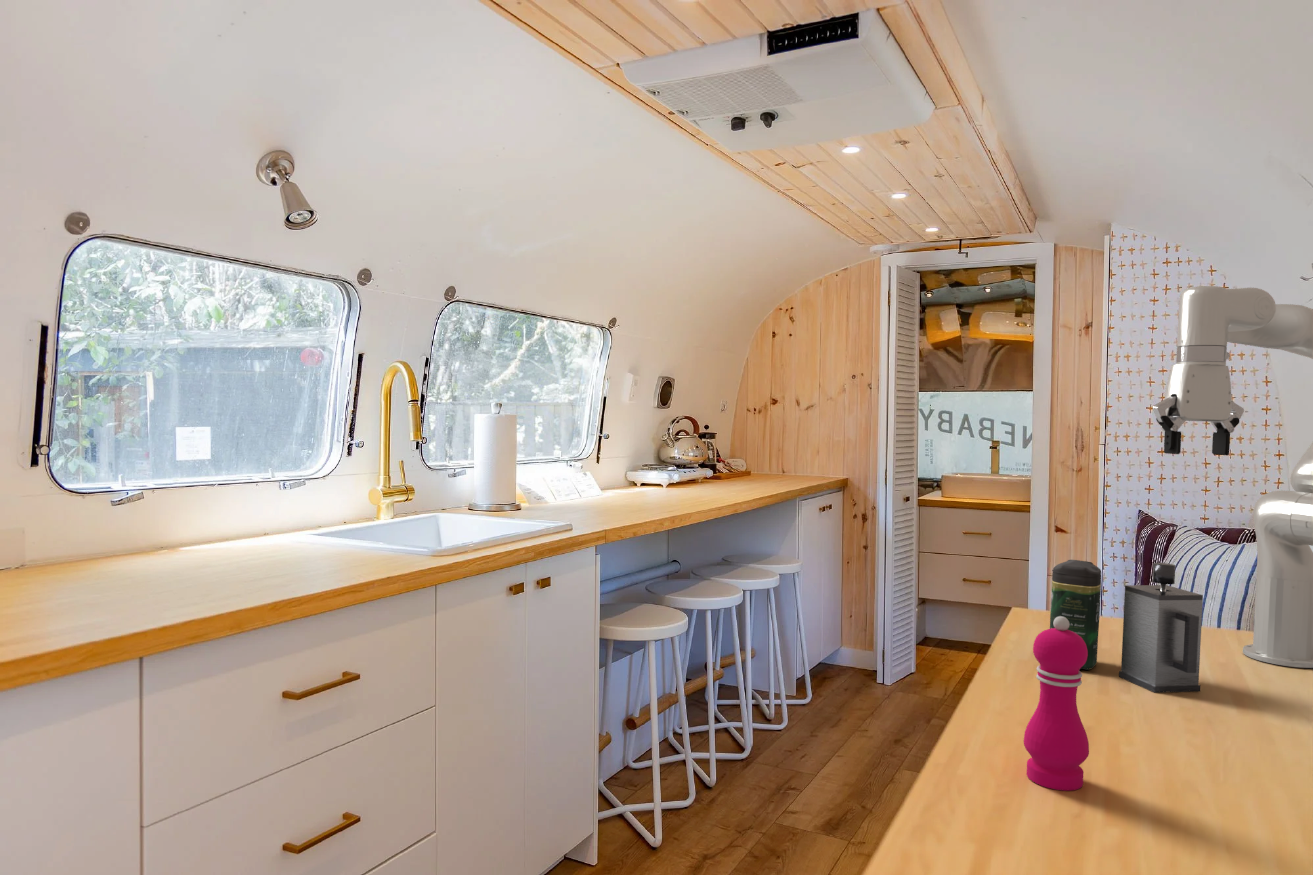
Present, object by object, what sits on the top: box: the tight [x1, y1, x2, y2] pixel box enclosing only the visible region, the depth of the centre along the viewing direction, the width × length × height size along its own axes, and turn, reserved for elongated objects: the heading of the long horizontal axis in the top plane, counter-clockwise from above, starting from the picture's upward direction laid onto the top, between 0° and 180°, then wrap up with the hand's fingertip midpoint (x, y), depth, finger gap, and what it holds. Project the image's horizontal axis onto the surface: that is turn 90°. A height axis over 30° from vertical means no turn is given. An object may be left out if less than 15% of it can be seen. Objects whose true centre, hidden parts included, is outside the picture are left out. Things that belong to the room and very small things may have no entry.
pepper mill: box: [1023, 616, 1090, 792], centre depth 106 cm, size 7×7×20 cm
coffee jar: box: [1049, 559, 1102, 671], centre depth 157 cm, size 10×8×19 cm
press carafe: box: [1118, 584, 1204, 694], centre depth 145 cm, size 8×11×16 cm
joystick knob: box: [1152, 562, 1176, 591], centre depth 147 cm, size 6×6×14 cm
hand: (1196, 454), depth 156 cm, fingers open, 9 cm apart
